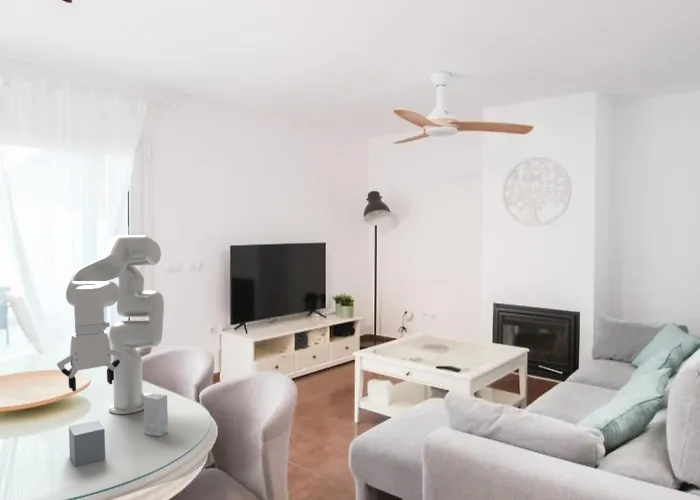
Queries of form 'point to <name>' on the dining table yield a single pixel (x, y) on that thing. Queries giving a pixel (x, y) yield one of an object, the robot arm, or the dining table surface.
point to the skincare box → (155, 414)
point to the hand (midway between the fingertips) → (92, 386)
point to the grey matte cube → (87, 443)
